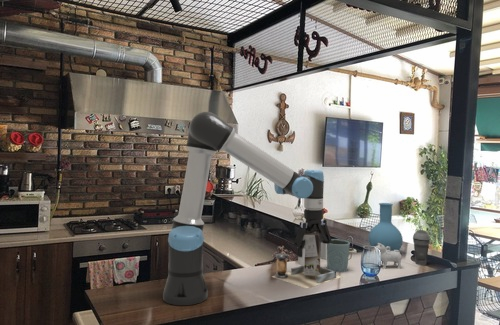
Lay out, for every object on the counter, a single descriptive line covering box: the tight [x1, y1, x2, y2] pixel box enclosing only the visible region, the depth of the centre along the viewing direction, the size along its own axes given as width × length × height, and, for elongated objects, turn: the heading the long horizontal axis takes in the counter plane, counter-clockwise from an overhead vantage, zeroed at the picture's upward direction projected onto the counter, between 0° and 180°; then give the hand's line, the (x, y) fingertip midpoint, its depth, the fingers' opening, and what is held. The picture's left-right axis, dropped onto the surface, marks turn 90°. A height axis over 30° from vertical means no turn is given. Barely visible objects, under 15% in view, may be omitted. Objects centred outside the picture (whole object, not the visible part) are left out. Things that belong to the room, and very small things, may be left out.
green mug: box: [326, 238, 351, 273], centre depth 169 cm, size 10×10×12 cm
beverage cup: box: [412, 219, 431, 266], centre depth 179 cm, size 7×7×20 cm
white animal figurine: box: [375, 243, 403, 270], centre depth 173 cm, size 5×13×11 cm, turn 95°
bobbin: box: [274, 252, 289, 279], centre depth 154 cm, size 5×5×9 cm
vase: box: [368, 202, 403, 251], centre depth 200 cm, size 16×16×25 cm
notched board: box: [271, 265, 343, 289], centre depth 155 cm, size 22×18×4 cm
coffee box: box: [303, 230, 321, 275], centre depth 154 cm, size 9×6×16 cm
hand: (312, 262), depth 155 cm, fingers open, 13 cm apart
